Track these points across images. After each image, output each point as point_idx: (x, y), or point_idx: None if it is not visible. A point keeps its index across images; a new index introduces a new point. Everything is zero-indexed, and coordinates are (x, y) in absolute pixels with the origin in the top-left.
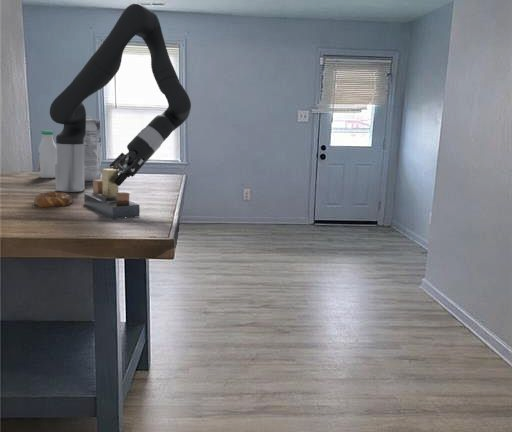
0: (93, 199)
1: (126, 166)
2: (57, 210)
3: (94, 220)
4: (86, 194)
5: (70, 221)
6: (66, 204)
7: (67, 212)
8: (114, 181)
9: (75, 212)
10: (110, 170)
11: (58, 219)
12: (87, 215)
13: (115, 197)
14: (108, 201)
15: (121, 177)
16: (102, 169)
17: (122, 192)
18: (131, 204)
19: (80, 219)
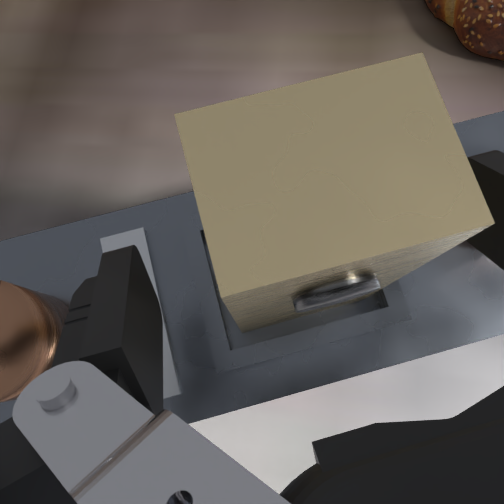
0: None
1: (77, 485)
2: (316, 2)
3: (4, 171)
4: (502, 111)
5: (17, 59)
6: (459, 38)
7: (252, 47)
8: (105, 254)
9: (246, 85)
10: (188, 161)
11: (81, 8)
12: (148, 143)
13: (199, 301)
14: (130, 241)
15: (68, 342)
16: (403, 62)
17: (33, 345)
18: (8, 416)
19: (52, 104)
